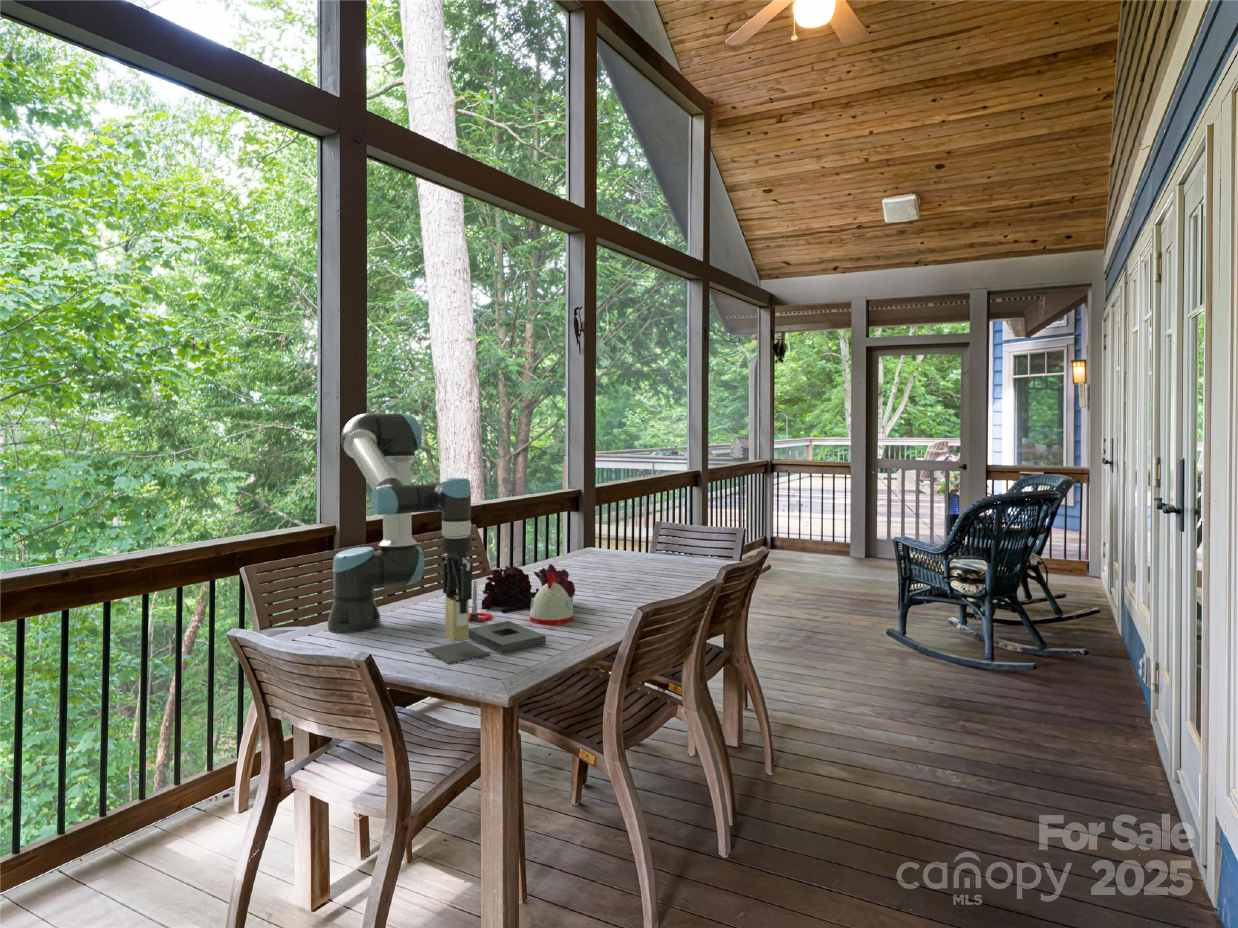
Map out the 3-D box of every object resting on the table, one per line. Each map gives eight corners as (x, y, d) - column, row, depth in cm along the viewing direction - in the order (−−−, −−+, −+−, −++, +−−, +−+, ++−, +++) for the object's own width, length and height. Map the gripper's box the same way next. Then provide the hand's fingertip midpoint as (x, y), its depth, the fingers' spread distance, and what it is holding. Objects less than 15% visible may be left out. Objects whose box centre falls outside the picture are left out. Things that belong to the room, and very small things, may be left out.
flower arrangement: (477, 613, 237) (477, 567, 237) (492, 599, 257) (492, 557, 256) (572, 615, 235) (572, 569, 235) (579, 600, 255) (579, 558, 254)
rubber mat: (424, 651, 195) (424, 648, 195) (465, 643, 203) (465, 640, 203) (448, 664, 185) (448, 661, 185) (490, 655, 192) (490, 652, 192)
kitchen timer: (524, 624, 224) (524, 576, 223) (535, 613, 237) (535, 567, 236) (568, 626, 222) (568, 577, 221) (577, 614, 235) (577, 569, 234)
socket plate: (466, 637, 209) (466, 628, 209) (508, 629, 218) (508, 620, 217) (501, 653, 193) (501, 644, 193) (545, 644, 202) (545, 635, 202)
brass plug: (445, 638, 194) (445, 597, 193) (461, 635, 197) (460, 595, 196) (453, 641, 190) (453, 600, 190) (468, 638, 193) (468, 598, 193)
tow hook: (470, 615, 235) (460, 621, 226) (471, 575, 235) (461, 580, 226) (495, 616, 234) (486, 622, 225) (496, 576, 234) (487, 581, 225)
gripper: (485, 538, 188) (485, 627, 189) (454, 531, 201) (455, 614, 202) (459, 541, 183) (459, 632, 184) (429, 533, 197) (429, 618, 198)
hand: (457, 622), depth 193 cm, fingers closed on brass plug, 4 cm apart
